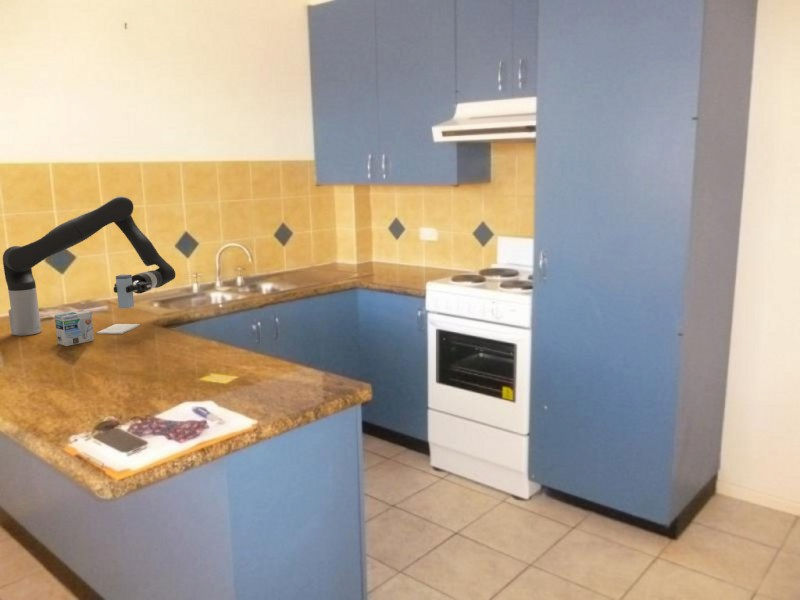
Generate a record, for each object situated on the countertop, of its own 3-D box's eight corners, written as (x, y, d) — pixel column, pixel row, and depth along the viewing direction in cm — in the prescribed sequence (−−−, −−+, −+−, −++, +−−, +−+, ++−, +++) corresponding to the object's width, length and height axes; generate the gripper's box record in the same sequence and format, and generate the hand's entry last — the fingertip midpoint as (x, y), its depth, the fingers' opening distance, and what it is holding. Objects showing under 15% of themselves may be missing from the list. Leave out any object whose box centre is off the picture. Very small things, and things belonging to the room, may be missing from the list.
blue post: (118, 308, 249) (115, 276, 247) (124, 306, 253) (121, 274, 250) (128, 308, 248) (126, 276, 246) (134, 306, 252) (131, 274, 250)
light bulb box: (66, 346, 236) (62, 316, 234) (56, 344, 240) (53, 314, 238) (95, 340, 245) (92, 311, 243) (85, 337, 249) (82, 309, 247)
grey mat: (96, 333, 254) (96, 332, 254) (116, 325, 268) (115, 323, 268) (122, 334, 253) (121, 332, 253) (140, 325, 267) (139, 324, 267)
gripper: (125, 272, 263) (101, 279, 246) (159, 273, 262) (138, 280, 245) (126, 291, 265) (103, 299, 248) (161, 291, 263) (140, 300, 246)
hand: (121, 289), depth 247 cm, fingers closed on blue post, 4 cm apart
